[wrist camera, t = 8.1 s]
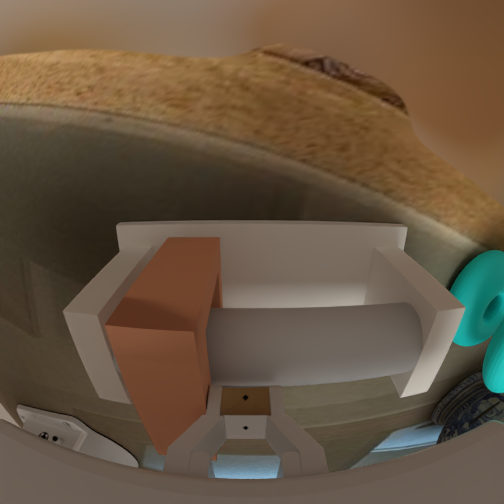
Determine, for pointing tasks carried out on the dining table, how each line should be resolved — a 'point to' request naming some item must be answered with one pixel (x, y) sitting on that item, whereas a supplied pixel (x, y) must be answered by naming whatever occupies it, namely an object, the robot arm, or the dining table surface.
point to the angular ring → (169, 336)
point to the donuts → (483, 312)
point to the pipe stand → (288, 305)
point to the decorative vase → (467, 408)
